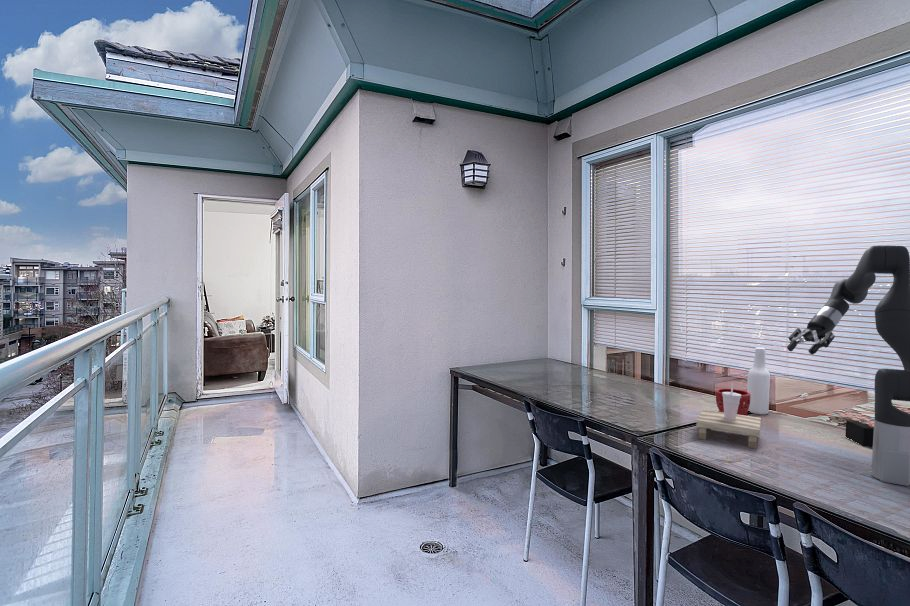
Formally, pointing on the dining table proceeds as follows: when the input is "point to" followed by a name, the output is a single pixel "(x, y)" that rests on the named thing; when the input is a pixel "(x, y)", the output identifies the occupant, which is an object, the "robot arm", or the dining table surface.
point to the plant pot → (744, 398)
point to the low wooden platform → (729, 425)
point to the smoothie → (730, 404)
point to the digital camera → (860, 432)
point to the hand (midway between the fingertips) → (799, 351)
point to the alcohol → (759, 384)
